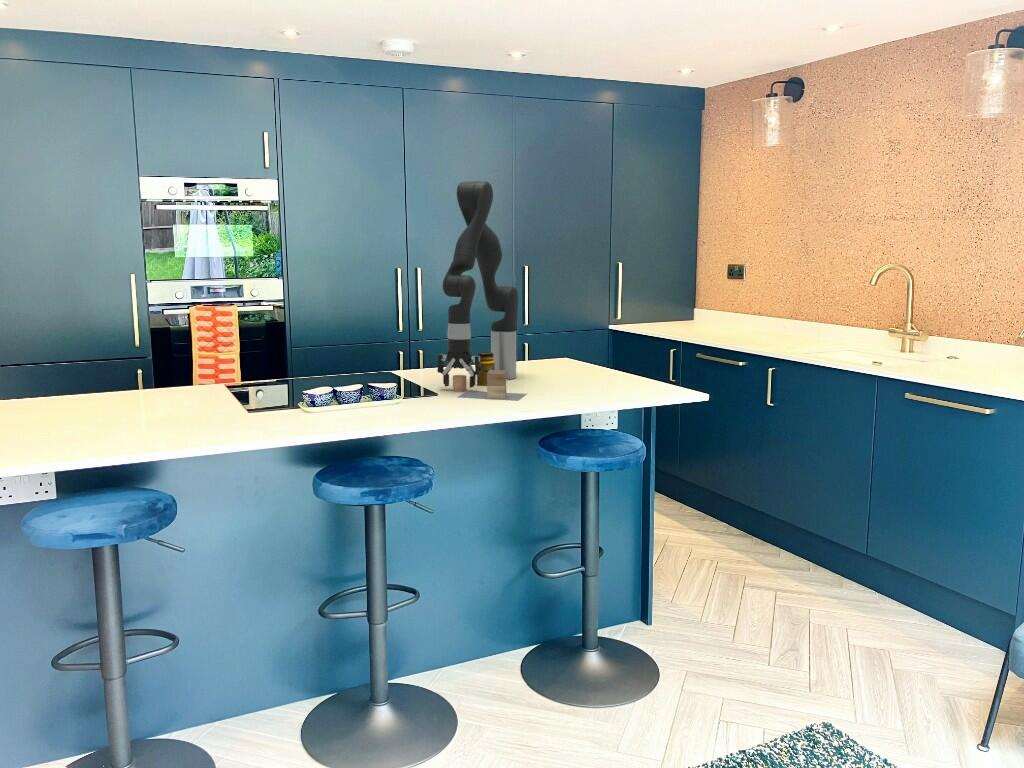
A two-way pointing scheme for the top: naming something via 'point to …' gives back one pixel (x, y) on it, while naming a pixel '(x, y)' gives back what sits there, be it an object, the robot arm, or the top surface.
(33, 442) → the top surface
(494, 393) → the block base
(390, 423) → the top surface
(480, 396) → the board
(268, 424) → the top surface
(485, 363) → the condiment
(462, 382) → the pink cylinder
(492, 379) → the block top
